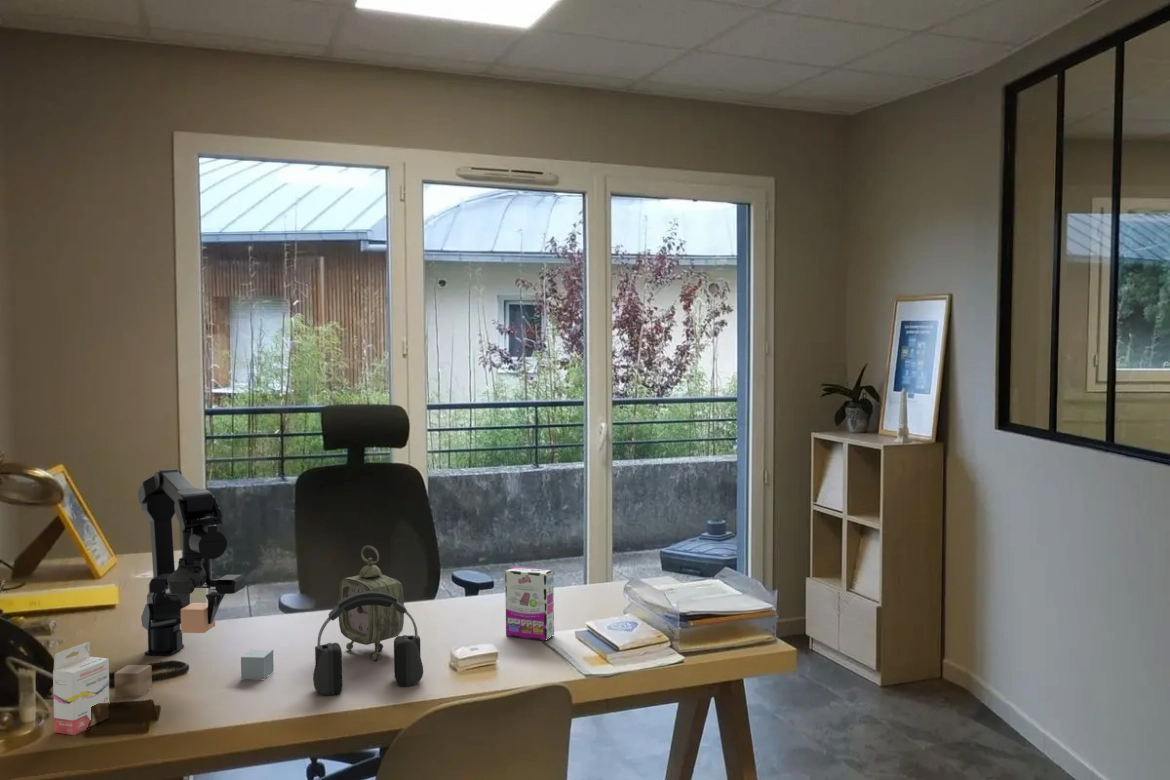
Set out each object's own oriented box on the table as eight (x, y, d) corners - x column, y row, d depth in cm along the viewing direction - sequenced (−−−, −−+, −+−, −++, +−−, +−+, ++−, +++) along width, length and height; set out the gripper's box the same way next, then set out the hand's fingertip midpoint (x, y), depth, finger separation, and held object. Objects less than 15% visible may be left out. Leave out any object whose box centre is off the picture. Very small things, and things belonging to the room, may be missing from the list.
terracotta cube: (181, 632, 193) (180, 609, 193) (192, 625, 198) (192, 602, 198) (204, 633, 193) (203, 609, 193) (215, 625, 198) (214, 603, 198)
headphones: (314, 699, 185) (312, 601, 184) (312, 688, 191) (311, 593, 190) (424, 685, 192) (423, 591, 191) (420, 675, 198) (419, 583, 197)
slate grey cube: (241, 680, 195) (240, 657, 195) (251, 671, 200) (250, 649, 200) (264, 680, 195) (263, 657, 195) (273, 672, 200) (273, 649, 200)
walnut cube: (114, 697, 186) (114, 673, 186) (128, 688, 191) (128, 664, 191) (138, 698, 186) (138, 673, 185) (152, 688, 191) (151, 665, 190)
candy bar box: (555, 635, 225) (554, 569, 224) (546, 641, 220) (546, 574, 219) (514, 630, 229) (513, 565, 228) (504, 636, 224) (504, 570, 223)
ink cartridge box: (74, 736, 167) (72, 656, 166) (53, 733, 168) (50, 654, 168) (111, 718, 175) (109, 642, 175) (90, 715, 177) (88, 640, 176)
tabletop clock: (338, 650, 214) (336, 544, 213) (371, 641, 221) (369, 538, 220) (374, 664, 205) (372, 553, 204) (407, 654, 211) (406, 547, 210)
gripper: (133, 559, 187) (135, 634, 188) (221, 560, 186) (223, 636, 187) (161, 547, 199) (163, 618, 199) (245, 548, 197) (247, 619, 198)
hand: (198, 623), depth 196 cm, fingers closed on terracotta cube, 5 cm apart
